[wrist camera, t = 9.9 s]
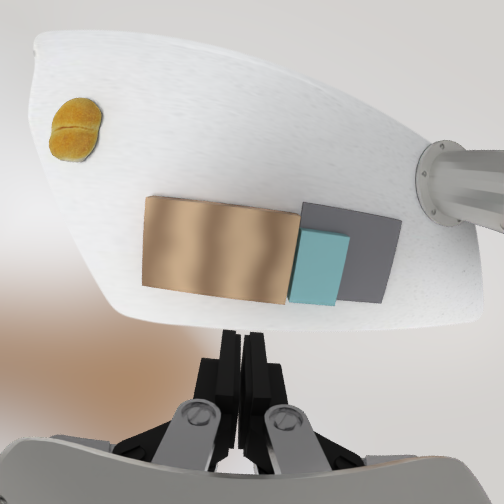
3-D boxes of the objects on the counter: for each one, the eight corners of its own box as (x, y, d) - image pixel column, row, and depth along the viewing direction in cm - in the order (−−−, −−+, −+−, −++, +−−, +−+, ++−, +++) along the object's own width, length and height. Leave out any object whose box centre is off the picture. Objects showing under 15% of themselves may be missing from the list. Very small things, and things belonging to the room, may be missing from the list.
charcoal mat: (400, 220, 35) (402, 220, 35) (379, 301, 38) (381, 303, 38) (303, 202, 34) (303, 202, 34) (286, 293, 37) (287, 295, 37)
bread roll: (108, 99, 30) (95, 92, 27) (96, 163, 33) (81, 163, 29) (63, 100, 30) (48, 95, 26) (52, 160, 32) (35, 160, 28)
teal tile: (344, 234, 35) (349, 237, 33) (330, 299, 37) (334, 305, 35) (299, 227, 35) (301, 230, 33) (287, 295, 37) (289, 302, 35)
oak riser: (297, 213, 35) (300, 216, 32) (282, 296, 38) (284, 304, 35) (152, 195, 34) (145, 197, 31) (148, 278, 37) (142, 285, 34)
